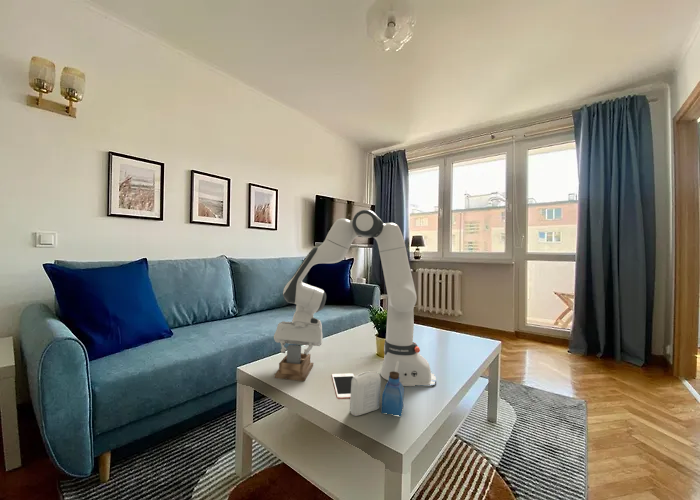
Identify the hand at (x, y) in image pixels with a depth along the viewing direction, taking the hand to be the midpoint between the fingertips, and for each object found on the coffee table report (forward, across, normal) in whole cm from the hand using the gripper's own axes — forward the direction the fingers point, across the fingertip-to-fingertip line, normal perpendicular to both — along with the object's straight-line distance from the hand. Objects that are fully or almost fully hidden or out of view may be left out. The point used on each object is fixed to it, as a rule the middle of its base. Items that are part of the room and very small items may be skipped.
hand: (294, 353), depth 116 cm
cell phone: (+10, +22, +3) cm, 24 cm away
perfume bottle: (+19, +39, -6) cm, 44 cm away
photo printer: (+20, +30, -8) cm, 37 cm away
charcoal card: (+5, 0, +5) cm, 7 cm away
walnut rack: (+4, 0, +8) cm, 9 cm away
